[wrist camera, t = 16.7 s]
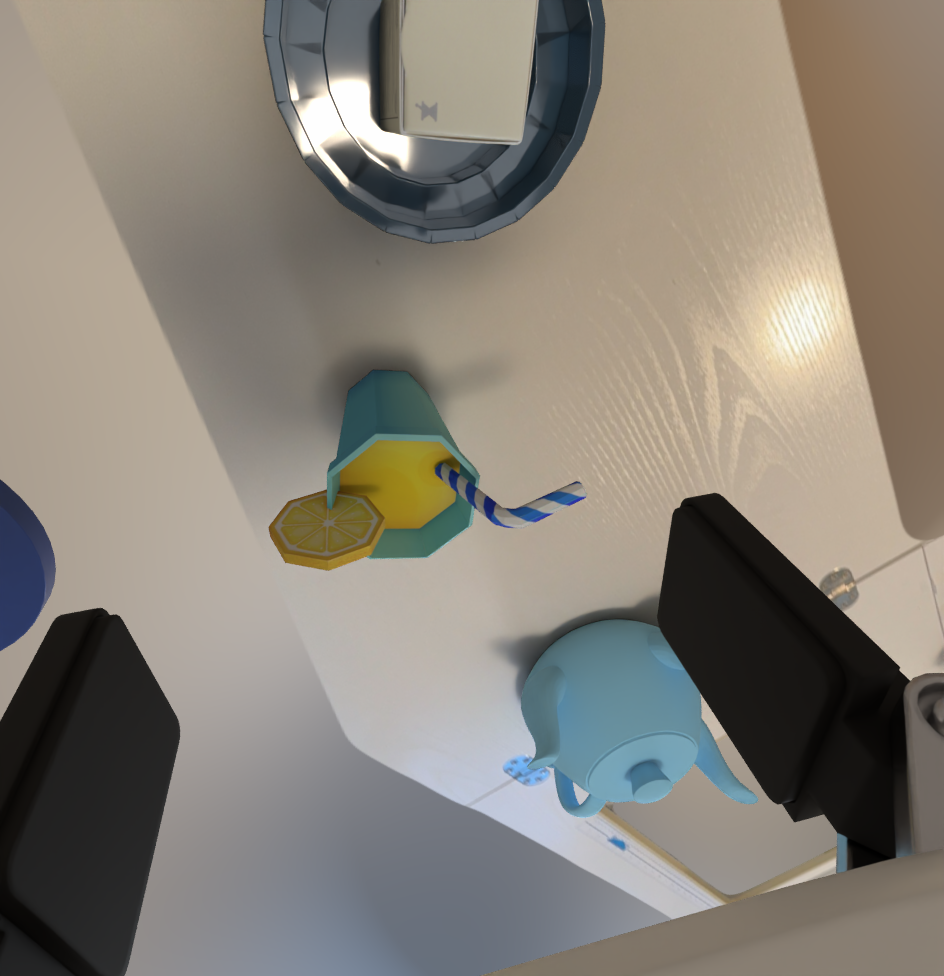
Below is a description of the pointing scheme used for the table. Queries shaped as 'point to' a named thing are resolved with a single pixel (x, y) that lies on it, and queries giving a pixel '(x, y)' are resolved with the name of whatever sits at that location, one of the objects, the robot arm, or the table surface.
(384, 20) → the box
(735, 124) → the table surface
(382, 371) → the cup
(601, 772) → the teapot
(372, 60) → the round ribbed tray
